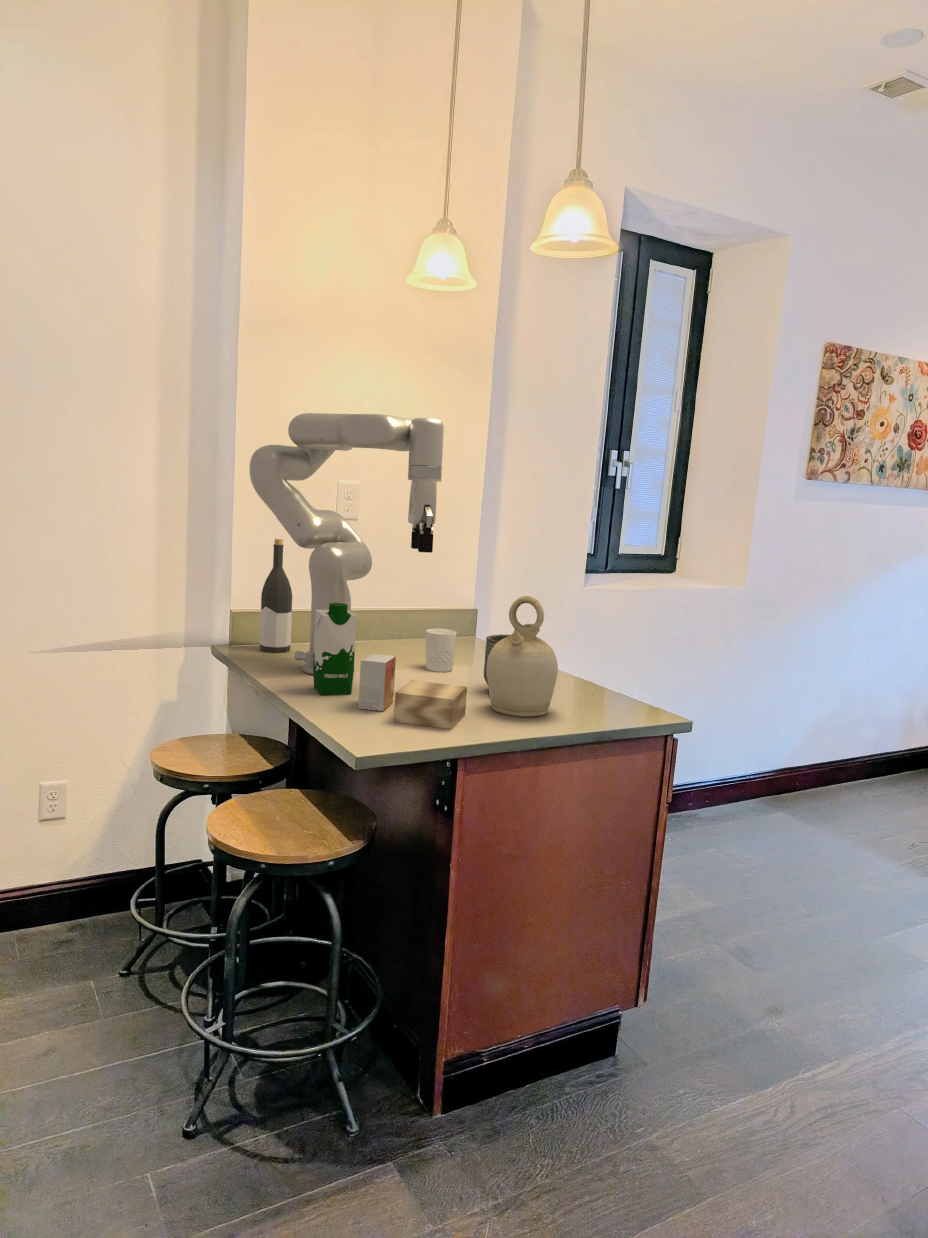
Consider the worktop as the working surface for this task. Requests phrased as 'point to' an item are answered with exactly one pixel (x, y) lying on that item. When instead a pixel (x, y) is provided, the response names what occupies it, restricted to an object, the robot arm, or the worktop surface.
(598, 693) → the worktop surface
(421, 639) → the worktop surface
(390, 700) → the small box
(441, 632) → the white cup
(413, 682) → the beech block
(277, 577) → the wine bottle
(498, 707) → the jug
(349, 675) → the milk carton
